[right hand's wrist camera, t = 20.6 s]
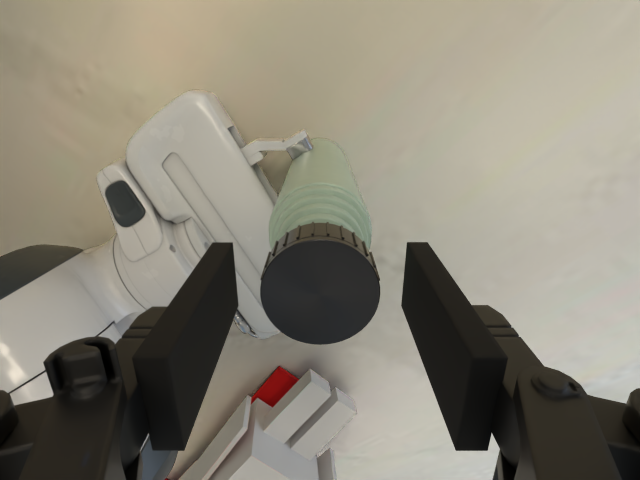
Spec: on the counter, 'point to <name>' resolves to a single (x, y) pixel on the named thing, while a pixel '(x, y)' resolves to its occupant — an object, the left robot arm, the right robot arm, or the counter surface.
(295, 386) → the toy
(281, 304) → the cap
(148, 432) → the right robot arm
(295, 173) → the bottle
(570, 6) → the counter surface
